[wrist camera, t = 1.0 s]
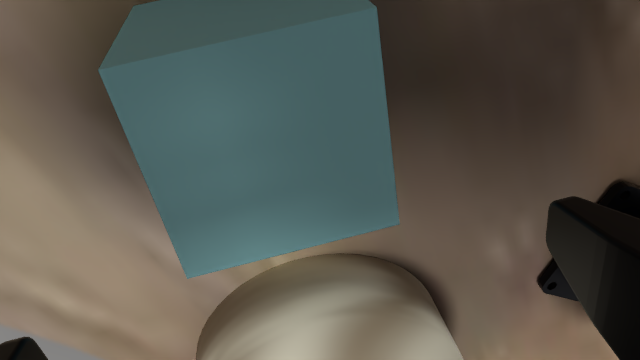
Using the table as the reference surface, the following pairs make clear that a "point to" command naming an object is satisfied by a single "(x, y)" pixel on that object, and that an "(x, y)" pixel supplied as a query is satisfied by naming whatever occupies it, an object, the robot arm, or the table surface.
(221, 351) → the birch riser
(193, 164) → the teal block
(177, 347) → the table surface
